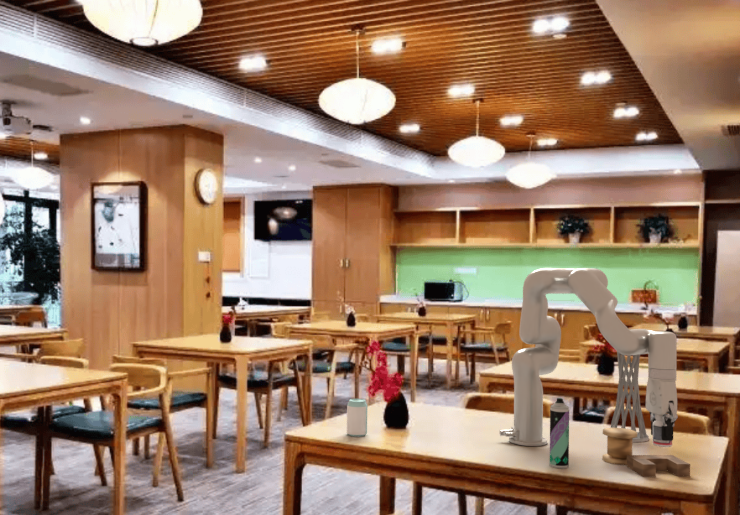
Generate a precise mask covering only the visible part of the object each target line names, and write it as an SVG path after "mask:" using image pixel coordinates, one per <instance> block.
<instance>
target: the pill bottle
mask: <svg viewBox="0 0 740 515" xmlns="http://www.w3.org/2000/svg"><path fill="white" fill-rule="evenodd" d="M665 415H669V414H667V413H666V414H665ZM668 418H669V417H666V421H667V419H668ZM655 419H656V421H654V422H653V435H652V445H653V446H655V447H660V448H670V447H672V446H673V440H662V426H663V421H662V416H659V415H656V414H655Z"/></svg>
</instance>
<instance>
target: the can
mask: <svg viewBox="0 0 740 515" xmlns="http://www.w3.org/2000/svg"><path fill="white" fill-rule="evenodd" d="M367 433H368V403H367V401H366V399H364V398H350V399H349V400H348V402H347V406H346V434H347V435H348V436H350V437H365V435H366V434H367Z"/></svg>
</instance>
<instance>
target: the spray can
mask: <svg viewBox="0 0 740 515" xmlns="http://www.w3.org/2000/svg"><path fill="white" fill-rule="evenodd" d="M549 410H550V411H549V412H550V413H549V466H550V467H551V468H555V469H567V468H569V465H570V462H569V460H570V453H569V452H570V451H569V450H570V445H569V444H570V407H569V406H568V405H567V404H566V403H565V402H564V399H563V397H557V398H556V401H555V402H554V403H553V404H552V405H550V409H549Z"/></svg>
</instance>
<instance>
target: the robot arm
mask: <svg viewBox="0 0 740 515" xmlns="http://www.w3.org/2000/svg"><path fill="white" fill-rule="evenodd" d="M608 285H609V280H608V277H607V275H606V273H604V271H602V270H601V269H598V268H593V267H592V268H591V267H581V268H579V267H578V268H563V267H560V268H557V267H542V268H538V269H534V270H533V271H532V272H530V273H529V274H528V275H527V276H526V278H525V279H524V282H523V287H522V306H521V311H520V312H521V314H520V323H519V332H518V333H519V339H520V340H521V342H523V343H525V344H527V345H535V346H534V347H525V348H521V349H518V350H517V351H516V352H515V353H513V356H512V358H511V370H512V375H513V388H514V389H513V391H514V392H513V426H510V427H511V428H509V429H499V436H500V437H503V436H504V437H508V441H509V442H510V443H512V444H514V445H519V446H527V447H540V446H541V447H542V446H545V445H547V444H548V439H547V438H546V437H544V436H543V430H544V429H543V428H544V426H543V423H544V422H543V421H544V420H543V419H544V418H543V417H544V416H543V414H544V406H543V405H544V388H543V383H542V380H541V378H540V377H541V376H545V375H548V374H549V375H550V374H551V373H553V372H554V371H555V370H556V368H557V367H558V363H559V358H560V348H561V340H562V329H561V326H560V323H559V322H558V320H557V319H556V318H555V317H553V316H550V315H548V310H549V303H548V302H549V301H548V299H547V295H548V294H551V295H552V294H556V295H557V294H559V295H560V294H563V295H564V294H565V295H566V294H567V295H569V294H570V295H571V294H573V295H575V296H576V297H577V298H578V299H579V300H580V302H582V304H583V305H584V306H585V307H586V308H587V309H588V310H589V311H590V312H591V314H593V316H594V318H595V321H596V325H597V328H598V330H599V332H600V334H601V335H602V336H603V338H604V339H605V340H606V341H607V343H609V345H610V347H612V349H614V350H615V351H616V352H617V351H618V352H619V353H621V354H623V355H625V356H629V355H631V356H633V355H639V354H640V355H646V354H647V356H648V357H647V361H648V365H647V366H648V367H647V369H648V370H647V371H648V372H647V373H648V376H647V378H648V379H647V382H646V390H645V409H646V411H648V413H649V416H650V418H649V420H650V435H651V436H653V422H654V421H656V419H655V414H656V415H659V416H662V421H663V426H662V440H672V441H674V427H675V422H676V421H677V419H678V414H677V413H678V394H677V393H678V392H677V390H678V389H677V384H676V381H677V343H678V342H677V341H678V340H677V335H676V334H675V333H674V332H672V331H666V330H665V331H663V330H650V329H646V328H633V329H632V328H631V329H630V328H628V326H626V325H625V323H624V322H622V320H621V319H620V318H619V317H618V315H617V312H616V310H615V309H616V308H617V305H618V302H619V301H618V299H617V297H616V296H615V295H614V294H613V293H612V292H611V291H610V290H609V289H608ZM665 414H669V415H665ZM666 417H669V418H668V419H667V421H666Z"/></svg>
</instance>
